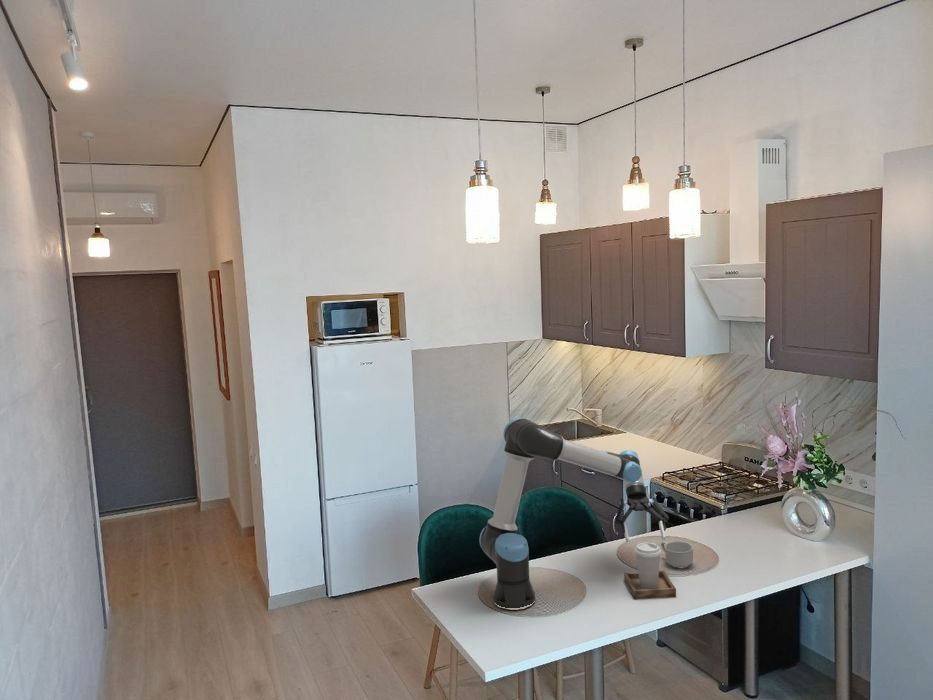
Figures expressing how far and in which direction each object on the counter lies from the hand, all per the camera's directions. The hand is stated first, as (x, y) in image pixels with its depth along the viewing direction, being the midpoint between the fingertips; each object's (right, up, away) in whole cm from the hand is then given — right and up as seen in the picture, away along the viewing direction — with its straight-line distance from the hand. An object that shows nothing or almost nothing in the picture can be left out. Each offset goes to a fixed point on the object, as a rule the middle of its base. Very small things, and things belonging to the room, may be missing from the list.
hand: (645, 539), depth 258 cm
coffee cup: (0, -16, -3) cm, 17 cm away
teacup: (+16, -14, +16) cm, 27 cm away
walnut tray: (0, -17, -3) cm, 17 cm away
